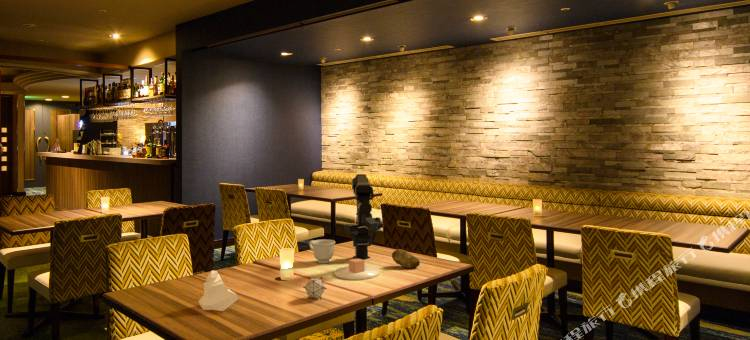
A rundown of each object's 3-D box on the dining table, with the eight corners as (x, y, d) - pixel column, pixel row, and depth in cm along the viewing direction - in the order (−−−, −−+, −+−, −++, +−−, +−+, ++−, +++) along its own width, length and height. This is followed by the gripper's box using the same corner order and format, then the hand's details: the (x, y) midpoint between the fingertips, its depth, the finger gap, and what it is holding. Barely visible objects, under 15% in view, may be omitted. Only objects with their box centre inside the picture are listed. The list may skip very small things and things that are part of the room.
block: (349, 271, 242) (348, 260, 242) (358, 269, 245) (358, 258, 245) (355, 273, 238) (355, 262, 238) (364, 271, 241) (364, 260, 241)
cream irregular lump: (205, 319, 189) (193, 281, 188) (201, 310, 203) (189, 274, 201) (240, 305, 194) (228, 268, 192) (233, 297, 208) (222, 262, 206)
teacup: (318, 257, 275) (317, 237, 274) (340, 261, 266) (340, 241, 266) (301, 261, 265) (301, 241, 265) (324, 266, 257) (324, 245, 256)
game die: (316, 309, 205) (314, 293, 199) (300, 298, 209) (297, 282, 203) (332, 293, 211) (329, 277, 204) (315, 282, 215) (313, 266, 208)
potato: (410, 271, 247) (410, 253, 246) (389, 266, 255) (389, 249, 254) (421, 267, 253) (421, 250, 252) (400, 263, 261) (400, 246, 261)
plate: (325, 273, 244) (325, 270, 244) (361, 266, 256) (361, 263, 256) (351, 282, 228) (351, 279, 228) (388, 274, 240) (388, 272, 240)
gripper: (357, 215, 239) (357, 250, 241) (390, 211, 250) (390, 244, 252) (343, 212, 248) (343, 245, 250) (376, 208, 259) (376, 240, 261)
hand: (364, 244), depth 253 cm, fingers open, 9 cm apart
